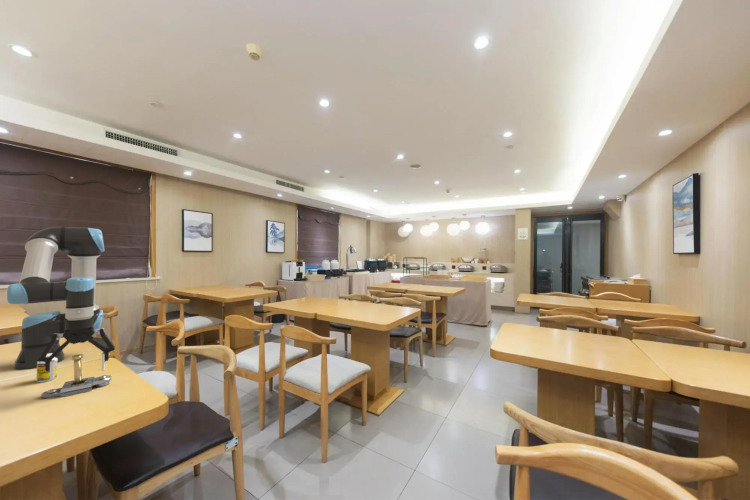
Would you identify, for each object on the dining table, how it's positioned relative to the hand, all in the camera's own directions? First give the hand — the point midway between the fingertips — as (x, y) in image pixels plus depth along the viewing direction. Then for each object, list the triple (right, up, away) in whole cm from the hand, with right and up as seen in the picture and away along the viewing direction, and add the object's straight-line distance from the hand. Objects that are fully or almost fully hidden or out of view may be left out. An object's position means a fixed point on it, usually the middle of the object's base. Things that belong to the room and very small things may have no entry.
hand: (78, 374), depth 109 cm
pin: (0, -6, 0) cm, 6 cm away
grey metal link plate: (0, -6, 0) cm, 6 cm away
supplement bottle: (-22, -6, +8) cm, 24 cm away
